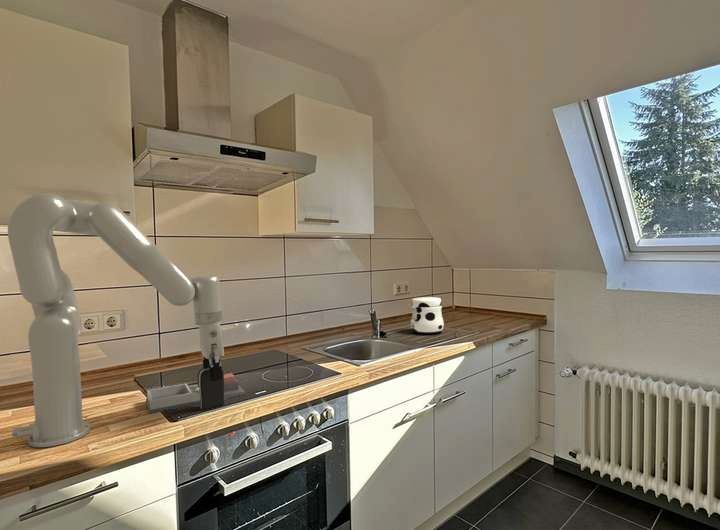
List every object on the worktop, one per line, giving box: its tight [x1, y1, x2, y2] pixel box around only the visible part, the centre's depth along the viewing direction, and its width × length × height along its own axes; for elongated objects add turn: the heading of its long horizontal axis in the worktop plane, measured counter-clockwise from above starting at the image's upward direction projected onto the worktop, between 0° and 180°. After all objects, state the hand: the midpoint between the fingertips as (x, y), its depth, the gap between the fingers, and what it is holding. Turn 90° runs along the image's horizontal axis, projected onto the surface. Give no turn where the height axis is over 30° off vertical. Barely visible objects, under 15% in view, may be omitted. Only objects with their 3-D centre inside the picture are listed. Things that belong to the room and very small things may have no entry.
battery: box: [197, 367, 225, 410], centre depth 120 cm, size 7×4×11 cm, turn 131°
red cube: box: [224, 372, 236, 384], centre depth 132 cm, size 4×4×4 cm
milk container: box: [410, 296, 445, 335], centre depth 219 cm, size 17×17×18 cm
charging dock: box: [145, 378, 246, 415], centre depth 128 cm, size 27×12×4 cm, turn 121°
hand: (212, 376), depth 120 cm, fingers open, 9 cm apart
